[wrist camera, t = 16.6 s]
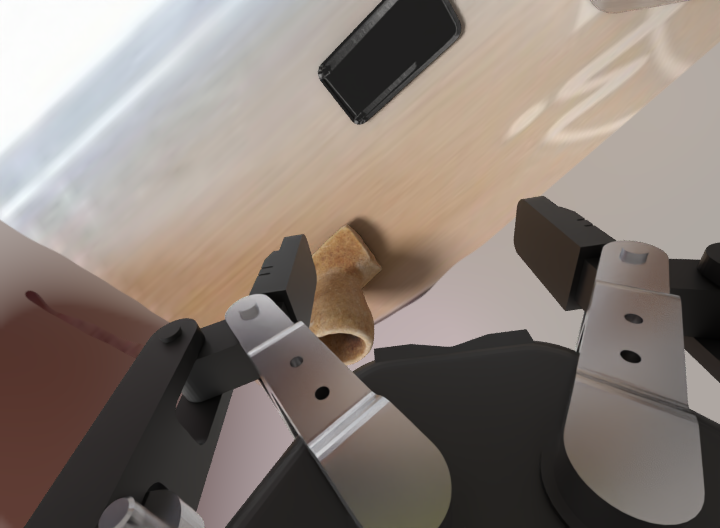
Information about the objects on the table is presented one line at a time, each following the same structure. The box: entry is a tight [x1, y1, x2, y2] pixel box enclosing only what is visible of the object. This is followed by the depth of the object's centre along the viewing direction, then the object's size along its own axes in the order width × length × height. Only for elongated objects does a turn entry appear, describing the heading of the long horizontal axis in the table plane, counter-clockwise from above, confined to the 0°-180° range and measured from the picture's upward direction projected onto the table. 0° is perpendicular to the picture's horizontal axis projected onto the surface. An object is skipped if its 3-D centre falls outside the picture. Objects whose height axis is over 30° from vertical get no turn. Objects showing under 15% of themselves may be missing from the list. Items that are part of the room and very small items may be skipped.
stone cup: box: [309, 225, 382, 366], centre depth 45 cm, size 15×12×15 cm
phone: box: [318, 0, 461, 125], centre depth 35 cm, size 8×1×15 cm
